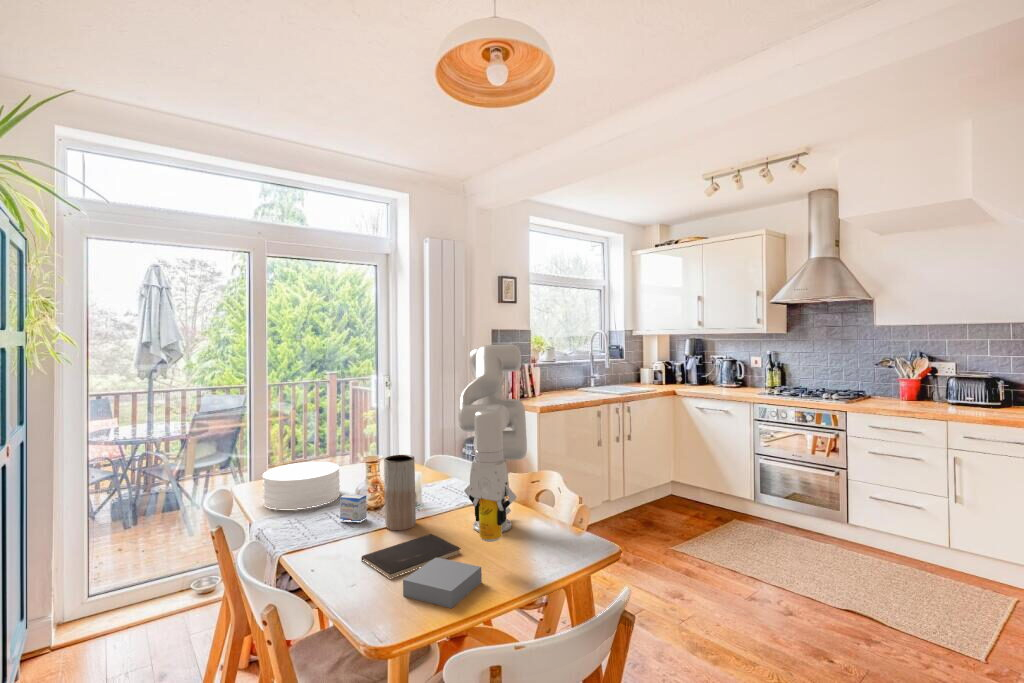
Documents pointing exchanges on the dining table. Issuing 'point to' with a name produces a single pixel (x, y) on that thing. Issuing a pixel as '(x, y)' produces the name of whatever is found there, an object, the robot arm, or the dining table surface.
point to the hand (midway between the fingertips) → (490, 520)
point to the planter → (399, 492)
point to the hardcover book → (410, 555)
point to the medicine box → (353, 507)
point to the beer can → (488, 518)
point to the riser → (442, 582)
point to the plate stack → (301, 485)
